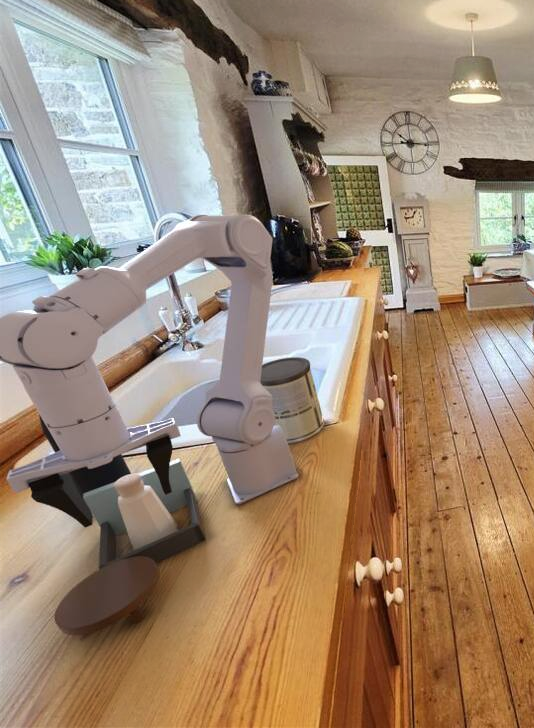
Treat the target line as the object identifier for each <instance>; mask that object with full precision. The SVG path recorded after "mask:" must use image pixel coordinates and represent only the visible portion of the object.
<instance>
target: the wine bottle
mask: <svg viewBox="0 0 534 728" xmlns="http://www.w3.org/2000/svg"><path fill="white" fill-rule="evenodd" d="M38 417H39V422H40V426H41V430H42V433H43V434H44V436H45V438H46V440H47V441H48V443H49V445H50V446H51V448H52V450H53V453H55V452H58V451H60V449H59V447H58V445H57V443H56V442H55V440H54V438H53V437H52V435H51V433H50V431H49V430H48V428H47V426H46V425H45V423H44V421H43V419H42V418H41V416H40V414H39V413H38ZM69 473H70V476H71V478H72V480H73V482H74V484H75V486H76V488H77V490H78V492H79V494H80V495H81V497H82V498H83V495H84V493H87V492H89V491H92V490H95V489H97V488H100V487H103V486H106V485H108V484H111V483H114V482H116V481H117V480H118V479H120V478H122V477H124V476H126V475H129V474H132V472H131V471H130V468H129V466H128V464H127V463H126V460H125V458H124V456H123V454H120V455H118V456H116V457H113V460H112V461H111V462H109V463H107V464H104V465H101V466H98V467H95V468H92V469H88V467H82V468H79V469H76V470H74V471H71V472H69ZM83 500H84V499H83ZM84 501H85V500H84ZM85 503H86V502H85Z"/></svg>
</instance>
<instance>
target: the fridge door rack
mask: <svg viewBox="0 0 534 728" xmlns="http://www.w3.org/2000/svg"><path fill="white" fill-rule="evenodd" d="M137 474H140V475H141V479H142V481H143V484H144V485H146V486H150V487H151V488H152V489H153V490H154V492H155V493H156V495H157V496H158V498H159V499H160V500H161V502H162V503H163V505H164V506H165V508H166V509H167V510H168V512H169V513H170V514H171V513H173V512H176V511H179V510H181V509H183V508H185V507H187V511H188V516H189V520H190V522H191V524H190V525H187V526H185V527H182V528H181V529H178V531H176V532H174V533H172V534H169V535H167V536H165V537H163V538H161V539H158V540H156V541H154V542H152V543H150V544H147V545H145V546H143V547H141V548H139V549H136V550H132V551H130V552H127V553H125V554H123V555H120V556H119V557H117V537H118V536H120V535H122V534H124V533H128V532H127V529H126V526H125V523H124V521H123V518H122V515H121V512H120V509H119V505H118V497H119V496H120V495H119V494H118V492H117V490H116V489H115V488H114V484H115V482H114V483H111V484H108V485H106V486H103V487H100V488H97V489H95V490H92V491H89V492H87V493H84V495H83V499H84V500H85V502H86V504H87V505H88V507H89V508H90V510H91V512H92V515H93V519H95V521H96V523H97V524H98V527H99V529H100V531H99V553H98V555H99V556H98V570H100V569H101V568H103V567H105V566H107V565H110V564H112V563H114V562H117V561H120V560H123V559H126V558H131V557H138V556H143V557H149V558H151V559H153V560H154V561H155V563H156V564H158V563H160V562H162V561H164V560H166V559H169V558H171V557H172V556H174V555H176V554H179V553H181V552H183V551H185V550H188V549H189V548H191V547H193V546H195V545H196V546H197V544H200V543H202V542H204V541H206V535H205V531H204V527H203V525H202V520H201V516H200V515H201V514H200V511H199V508H198V504H197V502H198V498H197V495H196V493H195V491H194V488H193V486H192V484H191V481H190V478H189V477H188V473H187V472H186V470H185V467H184V465H183V464H182V461H181V458H176V459H174V460H170V466H169V482H170V485H171V489H172V492H171V493H169V494H166V495H165V493H164V491H163V489H162V486H161V483H160V480H159V477H158V475H157V473H156V471H155V469H154V468H153V467H152V468H149V469H146V470H143V471H141V472H138V473H137Z"/></svg>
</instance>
